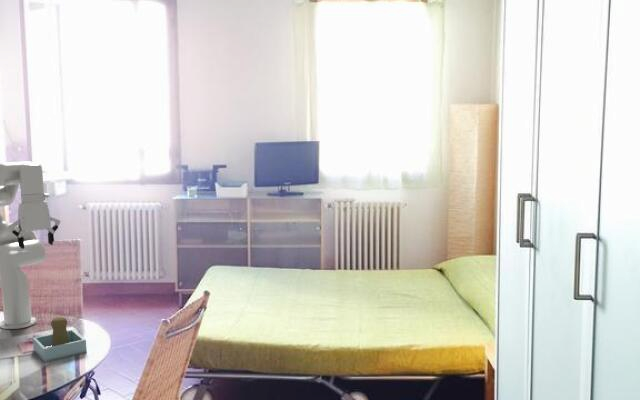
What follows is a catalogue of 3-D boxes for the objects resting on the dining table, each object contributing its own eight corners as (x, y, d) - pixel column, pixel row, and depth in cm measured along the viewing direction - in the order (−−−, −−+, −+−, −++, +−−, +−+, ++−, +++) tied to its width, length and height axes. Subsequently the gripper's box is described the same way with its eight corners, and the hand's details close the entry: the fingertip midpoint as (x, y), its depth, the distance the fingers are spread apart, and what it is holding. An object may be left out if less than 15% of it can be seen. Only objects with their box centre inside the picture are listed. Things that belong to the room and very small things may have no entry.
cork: (64, 352, 224) (62, 321, 222) (47, 352, 225) (45, 320, 223) (74, 346, 230) (71, 315, 228) (58, 345, 231) (55, 314, 229)
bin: (33, 350, 228) (32, 337, 227) (74, 341, 236) (73, 329, 236) (44, 362, 217) (43, 349, 217) (86, 352, 225) (85, 339, 225)
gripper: (55, 195, 243) (58, 241, 246) (3, 199, 233) (8, 247, 236) (61, 197, 237) (64, 244, 240) (8, 202, 227) (13, 251, 230)
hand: (36, 246), depth 238 cm, fingers open, 9 cm apart
